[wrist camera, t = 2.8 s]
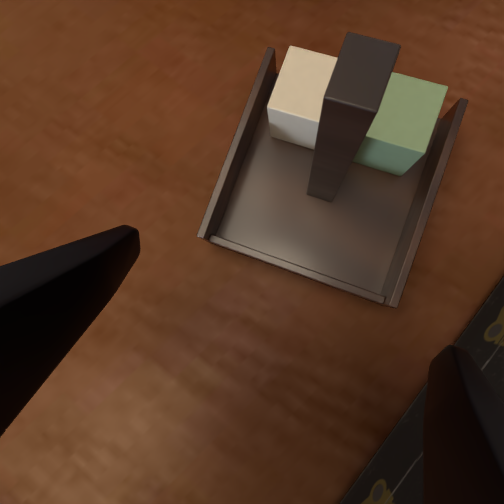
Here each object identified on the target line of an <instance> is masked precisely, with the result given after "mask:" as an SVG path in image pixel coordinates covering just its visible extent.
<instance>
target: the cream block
mask: <svg viewBox="0 0 504 504" xmlns="http://www.w3.org/2000/svg"><path fill="white" fill-rule="evenodd" d="M337 59H338V58H336V57H332V56H329V55H325V54H321V53H317V52H313V51H310V50H306V49H302V48H298V47H294V46H290V47H289V49H288V52H287V54H286V57H285V60H284V62H283V65H282V68H281V70H280V73H279V76H278V78H277V81H276V84H275V86H274V89H273V92H272V94H271V97H270V100H269V102H268V105H267V111H268V118H269V126H270V133H271V137H274V138H277V139H280V140H284V141H287V142H290V143H293V144H297V145H300V146H303V147H307V148H310V149H313V150H314V148H315V142H316V136H317V131H318V125H319V120H320V114H321V108H322V103H323V97H324V94H325V91H326V89H327V86H328V83H329V81H330V78H331V75H332V72H333V70H334V67H335V64H336V61H337Z"/></svg>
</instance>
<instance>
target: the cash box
mask: <svg viewBox="0 0 504 504" xmlns="http://www.w3.org/2000/svg"><path fill="white" fill-rule="evenodd" d="M454 346H457V347H460V348H463V349H465V350H467V351H468V352H469V353H470V355H471V356H472V357H473V359H474V360H475V362H476V363H477V365H478V366H479V368H480V369H481V371H482V372H483V374H484V375H485V377H486V378H487V379H488V381H489V382H490V384H491V385H492V387H493V388H494V390H495V391H496V393H497V394H498V396H499V397H500V399H501V400H502V401H503V403H504V277H503V278H502V279H501V281H500V282H499V284H498V285H497V286H496V288H495V289H494V290H493V292H492V293H491V295H490V296H489V297H488V299H487V300H486V302H485V303H484V304H483V306H482V307H481V308H480V310H479V311H478V313H477V314H476V315H475V317H474V318H473V320H472V321H471V322H470V324H469V325H468V326H467V328H466V329H465V331H464V332H463V333H462V335H461V336H460V337H459V339H458V340H457V342H456V343H455V344H454ZM427 384H428V382H427V383H426V385H425V386H424V387H423V389H422V390H421V391H420V393H419V394H418V396H417V397H416V398H415V400H414V401H413V402H412V404H411V405H410V407H409V408H408V409H407V411H406V412H405V414H404V415H403V416H402V418H401V419H400V420H399V422H398V423H397V425H396V426H395V427H394V429H393V430H392V432H391V433H390V434H389V436H388V437H387V438H386V440H385V441H384V443H383V444H382V445H381V447H380V448H379V450H378V451H377V452H376V454H375V455H374V456H373V458H372V459H371V461H370V462H369V463H368V465H367V466H366V467H365V469H364V470H363V472H362V473H361V474H360V476H359V477H358V479H357V480H356V481H355V483H354V484H353V485H352V487H351V488H350V490H349V491H348V492H347V494H346V495H345V497H344V498H343V499H342V501H341V502H340V503H339V504H424V488H423V420H424V409H425V401H426V392H427Z"/></svg>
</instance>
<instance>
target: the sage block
mask: <svg viewBox="0 0 504 504" xmlns="http://www.w3.org/2000/svg"><path fill="white" fill-rule="evenodd" d="M447 89H448V87H447V86H444V85H440V84H436V83H432V82H429V81H425V80H421V79H417V78H413V77H409V76H406V75H402V74H398V73H394V72H392V74H391V77H390V79H389V82H388V85H387V88H386V91H385V93H384V96H383V99H382V102H381V105H380V107H379V110H378V113H377V115H376V117H375V118H374V120H373V122H372V124H371V126H370V128H369V130H368V132H367V134H366V136H365V138H364V140H363V142H362V144H361V146H360V148H359V150H358V152H357V154H356V156H355V157H354V159H353V161H352V162H355V163H358V164H361V165H365V166H368V167H371V168H375V169H378V170H381V171H384V172H388V173H391V174H394V175H397V176H402V175H403V174H404V173H405V172H406V171H407V170H408V169H409V168H410V167H411V166H412V165H413V164H414V163H415V162H416V161H417V160H419V159H420V158H421V157H422V156H423V155H424V154H425V152H426V149H427V146H428V144H429V141H430V138H431V135H432V132H433V129H434V126H435V123H436V121H437V118H438V115H439V112H440V109H441V106H442V103H443V100H444V98H445V95H446V92H447Z"/></svg>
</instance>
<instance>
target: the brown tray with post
mask: <svg viewBox="0 0 504 504" xmlns="http://www.w3.org/2000/svg"><path fill="white" fill-rule="evenodd" d="M400 48H401V45H399V44H395V43H391V42H387V41H383V40H379V39H375V38H371V37H367V36H363V35H359V34H355V33H351V32H348V33H347V34H346V37H345V40H344V42H343V45H342V48H341V50H340V53H339V56H338V59H337V61H336V64H335V67H334V70H333V72H332V75H331V78H330V81H329V83H328V86H327V89H326V91H325V94H324V97H323V103H322V108H321V114H320V120H319V125H318V131H317V136H316V142H315V148H314V150H313V149H310V148H307V147H303V146H300V145H297V144H293V143H290V142H287V141H284V140H280V139H277V138H274V137H271V133H270V126H269V118H268V111H267V105H268V102H269V100H270V97H271V94H272V92H273V89H274V86H275V84H276V81H277V78H278V76H279V74H277V73H276V58H275V49H274V48H271V47H268V48H267V51H266V53H265V56H264V59H263V61H262V64H261V66H260V69H259V72H258V74H257V77H256V80H255V82H254V85H253V88H252V90H251V93H250V96H249V98H248V101H247V104H246V106H245V109H244V111H243V114H242V117H241V119H240V122H239V125H238V127H237V130H236V133H235V135H234V138H233V141H232V143H231V146H230V149H229V151H228V154H227V156H226V159H225V162H224V164H223V167H222V170H221V172H220V175H219V178H218V180H217V183H216V186H215V188H214V191H213V194H212V196H211V199H210V201H209V204H208V207H207V209H206V212H205V215H204V217H203V220H202V223H201V225H200V228H199V231H198V233H197V237H199V238H201V239H203V240H205V241H207V242H210V243H212V244H215V245H218V246H221V247H223V248H226V249H229V250H232V251H234V252H237V253H240V254H243V255H245V256H248V257H251V258H254V259H256V260H259V261H262V262H265V263H267V264H270V265H273V266H276V267H278V268H281V269H284V270H287V271H289V272H292V273H295V274H298V275H300V276H303V277H306V278H309V279H311V280H314V281H317V282H320V283H322V284H325V285H328V286H331V287H333V288H336V289H339V290H342V291H344V292H347V293H350V294H353V295H355V296H358V297H361V298H364V299H366V300H369V301H372V302H375V303H377V304H380V305H384V306H388V307H392V308H396V309H397V308H398V305H399V302H400V299H401V296H402V293H403V290H404V287H405V284H406V281H407V278H408V276H409V273H410V270H411V267H412V264H413V261H414V258H415V255H416V252H417V249H418V246H419V244H420V241H421V238H422V235H423V232H424V229H425V226H426V223H427V220H428V217H429V214H430V211H431V209H432V206H433V203H434V200H435V197H436V194H437V191H438V188H439V185H440V182H441V179H442V177H443V174H444V171H445V168H446V165H447V162H448V159H449V156H450V153H451V150H452V147H453V144H454V142H455V139H456V136H457V133H458V130H459V127H460V124H461V121H462V118H463V115H464V112H465V109H466V107H467V104H468V100H467V99H463V98H460V99H459V100H458V101H457V102H456V103H455V105H454V106H453V107H452V108H451V109H450V110H449V111H448V112H447V113H446V114H445V115H444V116H443V118H442V119H440V118H437V121H436V123H435V126H434V129H433V132H432V135H431V138H430V141H429V144H428V146H427V149H426V152H425V154H424V155H423V156H422V157H421V158H420V159H419V160H417V161H416V162H415V163H414V164H413V165H412V166H411V167H410V168H409V169H408V170H407V171H406V172H405V173H404V174H403V175H402V176H397V175H394V174H391V173H388V172H384V171H381V170H378V169H375V168H371V167H368V166H365V165H361V164H358V163H355V162H352V161H353V159H354V157H355V156H356V154H357V152H358V150H359V148H360V146H361V144H362V142H363V140H364V138H365V136H366V134H367V132H368V130H369V128H370V126H371V124H372V122H373V120H374V118H375V117H376V115H377V113H378V110H379V107H380V105H381V102H382V99H383V96H384V93H385V91H386V88H387V85H388V82H389V79H390V77H391V74H392V71H393V68H394V65H395V63H396V60H397V57H398V54H399V51H400Z"/></svg>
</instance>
